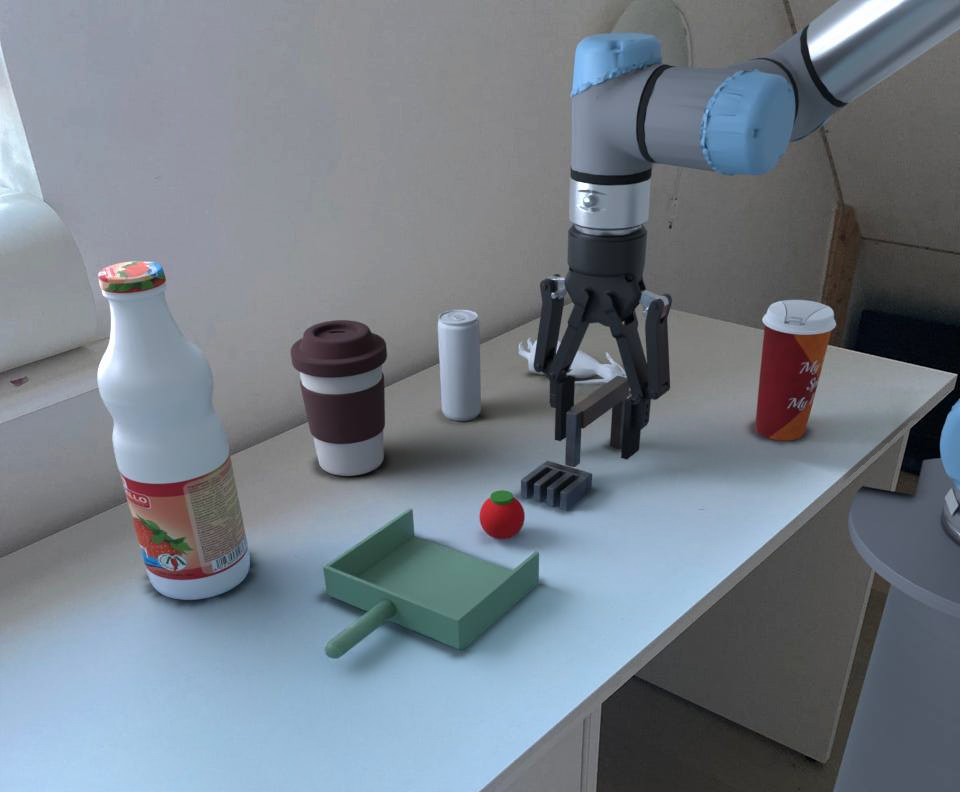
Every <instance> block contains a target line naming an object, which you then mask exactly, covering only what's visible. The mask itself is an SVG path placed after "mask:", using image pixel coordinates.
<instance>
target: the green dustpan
mask: <svg viewBox="0 0 960 792" xmlns="http://www.w3.org/2000/svg"><path fill="white" fill-rule="evenodd" d="M322 569H323V576H324V583H325V589H326V590H325V591H326V595H327V596H329V597H331V598H334V599H337V600H338V601H341V602H343V603H346V604H348V605H351V606H353V607H356V608H358V609H361V610H362V611H366V612H365V613H364V614H363V615H361V616H360V617H358V618H357V619H356V620H354V621H353V622H352V623H350V624H349V625H348V626H346V627H345V628H344V629H343V630H341V631H340V632H339V633H337V634H335V636H334V637H332V638H331V639H329V640H328V641H327V642H326V643H325V645H324V652H325V655H326V656H327V657H328V658H330V659H333V660H337V659H340V658H341V657H343V656H344V655H345V654H346V653H348V652H349V651H350V650H352V649H353V648H354V647H356V646H357V645H358V644H359V643H360V642H362V641H363V640H365V638H367V637H368V636H369V635H371V634H372V633H373V632H375V631H376V630H377V629H379V628H380V627H382V625H383V624H385V623H386V622H388V621H389V622H392V623H395V624H396V625H399V626H401V627H404V628H407V629H409V630H411V631H413V632H416V633H418V634H421V635H423V636H425V637H428V638H431V639H433V640H435V641H437V642H440V643H443V644H445V645H448V646H450V647H452V648H455V649H457V650H461V651H463V650H464V649H466V648H467V647H468V646H470V644H471V643H472V642H473V641H475V640H476V639H477V638H478V637H479V636H481V635H482V633H484V632H485V631H486V630H487V629H488V628H489V627H491V625H493V624H494V623H495V622H496V621H497V620H498V619H499V618H501V617H502V616H503V615H504V614H505V613H506V612H508V611H509V610H510V609H511V608H512V607H513V606H515V605H516V604H517V602H519V601H520V600H521V599H522V598H524V596H526V595H527V594H528V593H529V592H530V591H531V590H533V589H534V588H535V587H536V586H537V585H538V584H539V583H540V552H539V551H537V550H536V551H534V552H533V553H532V554H531V555H529V556H527V558H526V559H524V560H523V561H522V562H521V563H520V564H519V565H517V566H516V567H515V568H514V569H512V570H511V569H508V568H506V567H503V566H500V565H497V564H495V563H492V562H489V561H487V560H483V559H481V558H478V557H475V556H473V555H470V554H467V553H463V552H461V551H458V550H455V549H453V548H450V547H447V546H444V545H441V544H439V543H436V542H434V541H430V540H427V539H425V538H421V537H419V536H416V535H415V523H414V509H413V508H411V507H409V508H407V509H406V510H405V511H404V512H402V513H400V514H399V515H397V516H396V517H394V518H393V519H392V520H390V521H388V522H387V523H385V524H384V525H383V526H381V527H379V528H378V529H377V530H375V531H374V532H372V533H371V534H369V535H368V536H367V537H365V538H364V539H362V540H361V541H359V542H358V543H356V544H354V545H353V546H352V547H350V548H349V549H347V550H346V551H344V552H343V553H341V554H340V555H338V556H337V557H335V559H333V560H331V561H330V562H328V563H327V564H326V565H324V566H323V567H322Z"/></svg>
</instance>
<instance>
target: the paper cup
mask: <svg viewBox="0 0 960 792" xmlns="http://www.w3.org/2000/svg"><path fill="white" fill-rule="evenodd" d="M761 321H762V323H763V324H764V329H763V338H762V340H763V341H762V347H761V348H762V349H761V360H760V370H759V379H758V380H759V382H758V389H757V401H756V413H755V431H756V433H757V434H758V435H760V436H762V437H763V438H766V439H769V440H774V441H780V442H781V441H782V442H783V441H785V442H786V441H787V442H788V441H794V440H798V439H800V438H802V437H803V436H804V435H805V433H806V429H807V426H808V422H809V419H810V416H811V412H812V407H813V403H814V400H815V397H816V392H817V389H818V386H819V381H820V378H821V373H822V369H823V365H824V361H825V358H826V353H827V351H828V346H829V342H830V339H831V335H832V331H833V329H835V328H836V327H837V322H836V320H835V312H834V310H833V308H831V306H829V305H827V304H824V303H820V302H818V301H812V300H806V299H785V300H778V301H776V302H773V303H771V304H770V305H769V306H768V308H767V311H766V313H765V314H764V315H763V316H762V320H761Z"/></svg>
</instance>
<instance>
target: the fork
mask: <svg viewBox="0 0 960 792" xmlns="http://www.w3.org/2000/svg"><path fill="white" fill-rule="evenodd" d="M629 388H630V387H629V383H628V380H627V378H626V377H622V376H616V377H615V378H613V379H612V380H610V381H609V382H607V383H606V384H604V385H603V384H602V385H601V386H600V387H598V388H597V389H596V390H594V391H593V392H591V393H590V394H588V395H587V396H585V397H584V398H583V399H581V400H580V401H579V402H577V403H576V404H574V406H573V407H571V410H569V411H568V412H567V420H566V438H565V453H564V454H565V455H564V457H565V459H564V464H561V463H558V462H554V461H550V460H546V461H544V462H543V463H541V464H540V465H539V466H538V467H536V468H534V470H532V471H531V472H529V473H528V474H527V475H525V476H524V477H522V479H521V478H520V497H521V498H524V499H528V498H530V497H531V496H532V495H533V501H534V502H537V503H541V502H542V501H544V500H545V499H546V505H547V506H550V507H552V508H554V507H555V506H557V504H559V503H560V504H559V509H560V510H563V511H568V510H569V509H570V508H572V507H573V506H574V505H575V504H577V503H578V502H579V501H580V500H582V498H584V497H585V496H587V495H588V494H589V493H591V492H592V490H593V489H592V488H593V473H592V472H588V471H585V470H582V469H578V468H576V467H578V466H579V465H580V464H581V450H582V449H581V448H582V447H581V446H582V429H585V428H586V427H588V426H590V425H591V424H592V423H594V422H595V421H596V420H598V419H599V418H601V417H602V416H603V415H604V414H606V413H608V412H609V411H610V410H611V420H610V422H611V423H610V436H609V437H610V438H609V447H610V448H614V449H620V448H621V449H622V437H623V422H624V408H625V400H626V399H628V398H629V397H630V392H629Z"/></svg>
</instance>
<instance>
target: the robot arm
mask: <svg viewBox="0 0 960 792" xmlns="http://www.w3.org/2000/svg"><path fill="white" fill-rule="evenodd" d="M959 30H960V0H838V1H837V2H835V3H833V4H832V5H831V6H830V7H828V8H827V9H826V10H825V11H824V12H822V13H821V14H819V15H818V16H817V17H816V18H814V19H813V20H812V21H811V22H809V24H807V25H806V26H805V27H803V28H801V29H800V30H798V32H796V33H795V34H793V35H792V36H791V37H789V38H788V39H787V40H786V41H784V42H783V43H782V44H781V45H779V46H778V47H777V48H776V49H774V50H772V51H771V52H770V53H768V54H766V55H763V56H762V55H761V56H759V57H755V58H752V59H748V60H746V61H742V62H738V63H734V64H729V65H727V66H723V67H693V66H691V67H690V66H689V67H688V66H676V65H670V64H666V63H663V56H662V43H661V41H660V38H659V37H657V36H656V35H654V34H646V33H641V32H610V33H609V32H607V33H599V34H593V35H589V36H586V37H584V38H583V39H582V40H581V41H580V42H578V44H577V46H576V49H575V53H574V64H573V77H572V90H571V92H570V95H569V97H570V99H571V159H570V161H571V162H570V163H571V165H570V175H569V198H568V199H569V203H568V212H569V213H568V220H569V221H570V222H571V224H572V225H571V226H570V227H569V229H568V231H567V261H566V262H567V265H568V271H567V273H566V275H565V276H561V274H559V273H555V274H552V275H550V276H548V277H546V278H544V279H542V280H541V281H540V283H539V289H540V296H541V310H540V318H539V324H538V330H537V338H536V340H537V344H536V351H535V358H534V365H533V367H534V370H535V371H536V372H543V373H544V374H546V375H547V378H548V380H549V399H548V401H549V402H548V403H549V406H550V408H553V409H554V410H555V411H554V416H555V417H554V441H557V442H562V441H563V440H566V420H567V412H568V411H569V410H571V407H573V406H574V405H575V391H576V390H575V387H576V385H575V381H576V378H575V377H574V376H570V375H569V376H567V377H566V374H567V373H569V372H570V371H571V370H572V369H570V367H571V365H572V362H573V360H574V358H575V356H576V353H577V351H578V350H580V347H581V345H582V342H583V339H584V337H585V335H586V333H587V330H588V328H589V325H590V324H600V325H602V326H604V327H608V328H609V330H610V333H611V337H612V338H613V339H615V341H616V344H617V348H618V353H619V355H620V359H621V362H622V365H623V369H624V370H625V373H626V376H627V380H628V383H629V387H630V390H631V392H630V394H631V395H630V396H628V397H627V399H626V400H625V408H624V422H623V437H622V447H621V450H620V451H621V453H620V458H621V459H623V460H629V459H630V458H631V457H633V456H634V455H635V454H636V453H637V452H639V451H640V444H641V431H642V430H643V429H644V428H645V427H647V426H648V424H649V422H650V414H651V413H650V412H651V404H652V400H653V401H655V400H656V401H657V400H658V399H660V398H661V397H662V396H664V395H665V394H667V392H669V391H670V390H671V374H670V372H671V371H670V369H671V368H670V352H669V351H670V350H669V349H670V348H669V328H668V327H669V326H668V317H669V314H670V310H671V306H672V303H673V297H672V296H671V294H669V293H663V294H662V295H660V294H657V293H655V292H652V291H649V290H647V286H646V284H645V280H644V270H645V264H646V257H647V256H646V253H647V252H646V251H647V243H648V239H647V238H648V230H647V228H646V226H645V224H646V223H647V222H648V221H649V219H650V201H651V185H652V184H651V181H652V173H653V164H657V165H658V164H660V165H666V166H673V167H680V168H687V169H692V170H693V169H694V170H700V171H707V172H713V173H719V174H722V175H723V176H730V177H731V176H732V177H733V176H736V175H745V176H746V175H747V176H762V175H765V174H767V173H769V172H771V171H772V170H773V169H774V168H775V167H776V166H777V164H778V161H779V159H781V158H782V157H783V156H784V154H785V152H786V150H787V148H788V145H789V144H790V143H794V142H798V141H801V140H803V139H805V138H806V137H808V136H810V135H812V134H814V133H815V132H817V131H818V130H820V128H822V127H823V126H824V125H825V124H827V122H828V121H829V120H830V119H831V117H832V116H833V115H835V114H836V113H837V112H840V111H841V110H842V109H843V108H845V107H846V106H848V104H850V103H851V102H853V101H854V100H856V99H857V98H859V97H861V96H862V95H864V94H865V93H866V92H868V91H869V90H871V89H872V88H873V87H875V86H876V85H878V84H880V83H881V82H883V81H885V80H886V79H887V78H889V77H891V76H892V75H894V74H895V73H896V72H898V71H899V70H901V69H902V68H904V67H905V66H907V65H908V64H909V63H911V62H913V61H914V60H915V59H917V58H919V57H921V56H922V55H923V54H924V53H926V52H927V51H929V50H930V49H932V48H934V47H935V46H937V45H938V44H939V43H941V42H942V41H944V40H945V39H947V38H949V37H950V36H952V35H953V34H954V33H956V32H957V31H959ZM567 294H568V296H569V298H570V299H571V301H572V304H574V305H573V307H572V310H571V312H570V314H569V317H568V319H567V326H566V329H565V331H564V334H563V336H562V339H561V340H560V342H561V343H560V346H559V348H558V350H557V344H558V341H559V336H560V331H561V324H562V318H563V311H564V306H565V297H566V296H567ZM639 305H641V306H642V309H643V310H642V316H643V317H646V318H645V321H644V322H645V323H644V334H645V351H644V348H643V345H642V341H641V338H640V334H639V331H638V330H639V329H638V328H639V320H638V317H637V313H636V308H637V307H638V306H639ZM556 350H557V353H556ZM645 352H646V353H645ZM645 354H646V355H645ZM569 369H570V370H569ZM546 375H545V376H546ZM939 452H940V458H941V459H942V463H943V466H944V468H945V471H946V473H947V475H948V476H949V477H950V478H951V479H952V481H953V483H954V484H955V486H954V488H953V489H952V488H951V489H950V491H949V492H948V493H947V495H946V496H945V500H946V501H945V504H944V507H943V510H942V514H941V520H940V521H941V525H942V528H943V530H944V532H945V533H946V534H947V536H948V537H949V538H950V539H951V540H952V541H953V542H954V543H956V544H957V545H958V546H960V398H958V400H957V401H956V402H955V403H954V405H952V406H951V410H950V411H949V412H948V414H947V416H946V419H945V422H944V424H943V427H942V430H941V434H940V440H939Z"/></svg>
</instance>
